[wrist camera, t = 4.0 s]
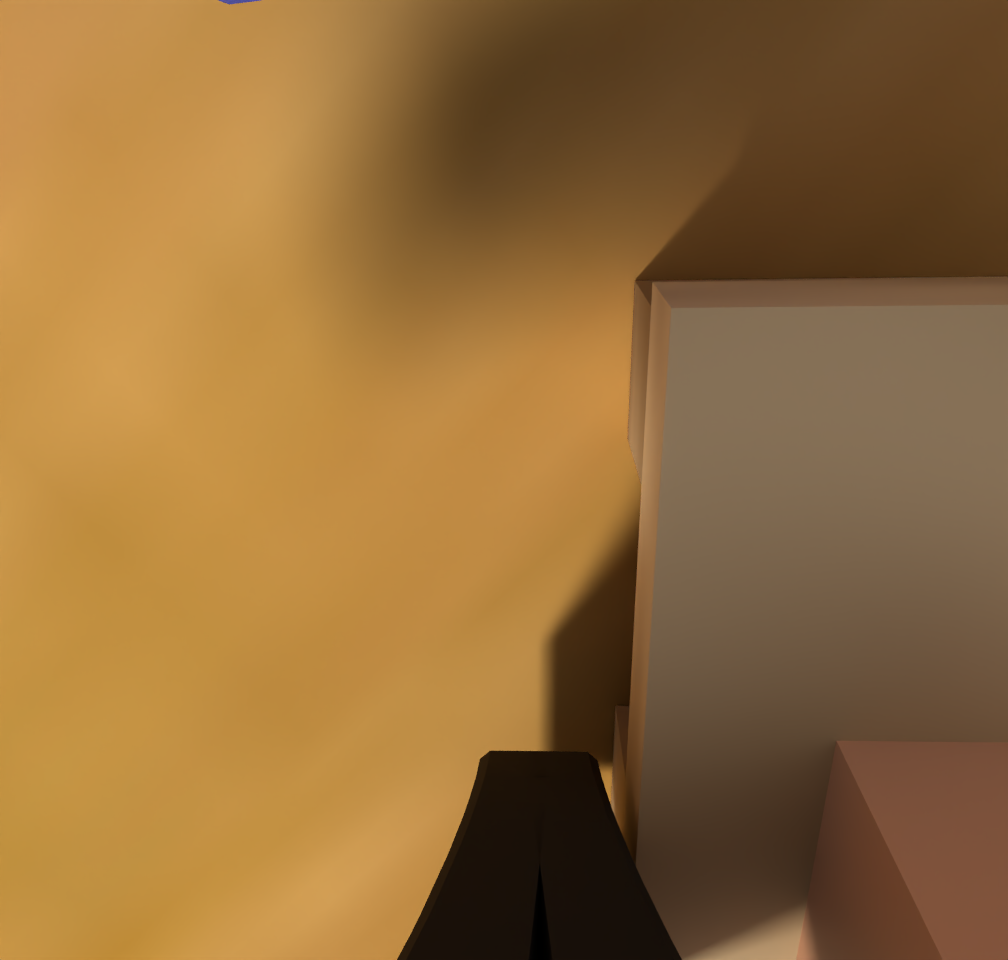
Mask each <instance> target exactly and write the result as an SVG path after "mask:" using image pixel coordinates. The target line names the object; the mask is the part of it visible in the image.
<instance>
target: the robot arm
mask: <svg viewBox="0 0 1008 960" xmlns="http://www.w3.org/2000/svg"><path fill="white" fill-rule="evenodd" d="M397 960H682V959H681V957H680V955H679V953H678V951H677V949H676V947H675V945H674V944H673V942H672V940H671V938H670V936H669V934H668V932H667V930H666V928H665V926H664V924H663V922H662V920H661V917H660V915H659V913H658V911H657V909H656V907H655V905H654V903H653V901H652V899H651V897H650V895H649V893H648V891H647V889H646V887H645V885H644V883H643V881H642V879H641V876H640V874H639V872H638V870H637V868H636V865H635V863H634V861H633V859H632V857H631V854H630V852H629V849H628V847H627V845H626V842H625V840H624V837H623V835H622V833H621V830H620V828H619V825H618V823H617V820H616V818H615V815H614V812H613V810H612V807H611V804H610V802H609V799H608V796H607V793H606V790H605V787H604V783H603V780H602V777H601V773H600V769H599V765H598V761H597V760H596V759H595V758H594V757H593V756H592V755H591V754H590V753H589V752H561V751H489V752H488V753H487V754H486V755H484V756H483V757H482V758H481V759H480V762H479V767H478V771H477V775H476V779H475V782H474V786H473V789H472V792H471V796H470V799H469V802H468V804H467V807H466V810H465V813H464V816H463V818H462V821H461V824H460V826H459V828H458V831H457V833H456V836H455V838H454V841H453V843H452V846H451V848H450V851H449V853H448V856H447V858H446V860H445V862H444V864H443V867H442V869H441V871H440V873H439V875H438V878H437V880H436V882H435V884H434V886H433V888H432V891H431V893H430V895H429V897H428V899H427V902H426V904H425V906H424V908H423V910H422V912H421V915H420V917H419V919H418V921H417V923H416V925H415V927H414V929H413V931H412V933H411V935H410V937H409V938H408V940H407V942H406V944H405V946H404V948H403V950H402V952H401V953H400V955H399V957H398V959H397Z"/></svg>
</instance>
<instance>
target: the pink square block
mask: <svg viewBox="0 0 1008 960" xmlns="http://www.w3.org/2000/svg"><path fill="white" fill-rule="evenodd" d="M796 960H1008V742H913V741H836V745H835V751H834V756H833V761H832V767H831V772H830V778H829V783H828V789H827V794H826V800H825V805H824V811H823V816H822V822H821V827H820V832H819V838H818V843H817V849H816V854H815V860H814V865H813V871H812V876H811V882H810V887H809V893H808V898H807V903H806V909H805V914H804V920H803V925H802V931H801V936H800V942H799V947H798V953H797V958H796Z"/></svg>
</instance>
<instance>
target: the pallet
mask: <svg viewBox="0 0 1008 960" xmlns="http://www.w3.org/2000/svg"><path fill="white" fill-rule="evenodd" d="M628 441H629V445H630V448H631V451H632V455H633V458H634V462H635V465H636V469H637V472H638V475H639V479H640V482H641V504H640V523H639V541H638V560H637V578H636V597H635V615H634V634H633V652H632V671H631V689H630V706H615V727H614V748H613V770H612V792H611V807H612V810H613V812H614V815H615V818H616V820H617V823H618V825H619V828H620V830H621V833H622V835H623V837H624V840H625V842H626V845H627V847H628V849H629V852H630V854H631V857H632V859H633V861H634V863H635V865H636V868H637V870H638V872H639V874H640V876H641V879H642V881H643V883H644V885H645V887H646V889H647V891H648V893H649V895H650V897H651V899H652V901H653V903H654V905H655V907H656V909H657V911H658V913H659V915H660V917H661V920H662V922H663V924H664V926H665V928H666V930H667V932H668V934H669V936H670V938H671V940H672V942H673V944H674V945H675V947H676V949H677V951H678V953H679V955H680V957H681V959H682V960H796V958H797V953H798V947H799V942H800V936H801V931H802V925H803V920H804V914H805V909H806V903H807V898H808V893H809V887H810V882H811V876H812V871H813V865H814V860H815V854H816V849H817V843H818V838H819V832H820V827H821V822H822V816H823V811H824V805H825V800H826V794H827V789H828V783H829V778H830V772H831V767H832V761H833V756H834V751H835V745H836V741H913V742H1008V276H996V277H906V278H816V279H726V280H636V281H635V288H634V310H633V332H632V354H631V376H630V398H629V419H628Z"/></svg>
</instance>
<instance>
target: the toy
mask: <svg viewBox="0 0 1008 960" xmlns="http://www.w3.org/2000/svg"><path fill="white" fill-rule="evenodd" d="M219 1H222V2H224V3H227V4H235V3H243V2H252V1H260V0H219Z"/></svg>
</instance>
